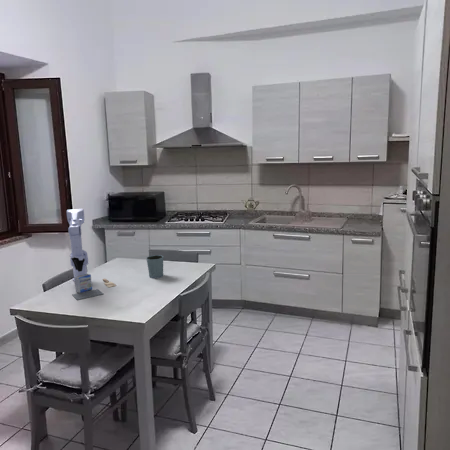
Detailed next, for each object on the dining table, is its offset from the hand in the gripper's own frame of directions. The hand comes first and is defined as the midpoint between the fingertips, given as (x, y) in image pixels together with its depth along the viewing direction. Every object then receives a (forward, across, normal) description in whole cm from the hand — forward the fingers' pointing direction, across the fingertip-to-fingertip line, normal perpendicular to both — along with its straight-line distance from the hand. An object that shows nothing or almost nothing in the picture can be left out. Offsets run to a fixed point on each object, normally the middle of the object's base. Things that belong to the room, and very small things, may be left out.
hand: (79, 270), depth 227 cm
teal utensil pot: (+11, +8, +43) cm, 45 cm away
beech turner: (+10, +2, +15) cm, 18 cm away
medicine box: (+10, +6, 0) cm, 12 cm away
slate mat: (+11, +14, 0) cm, 18 cm away
